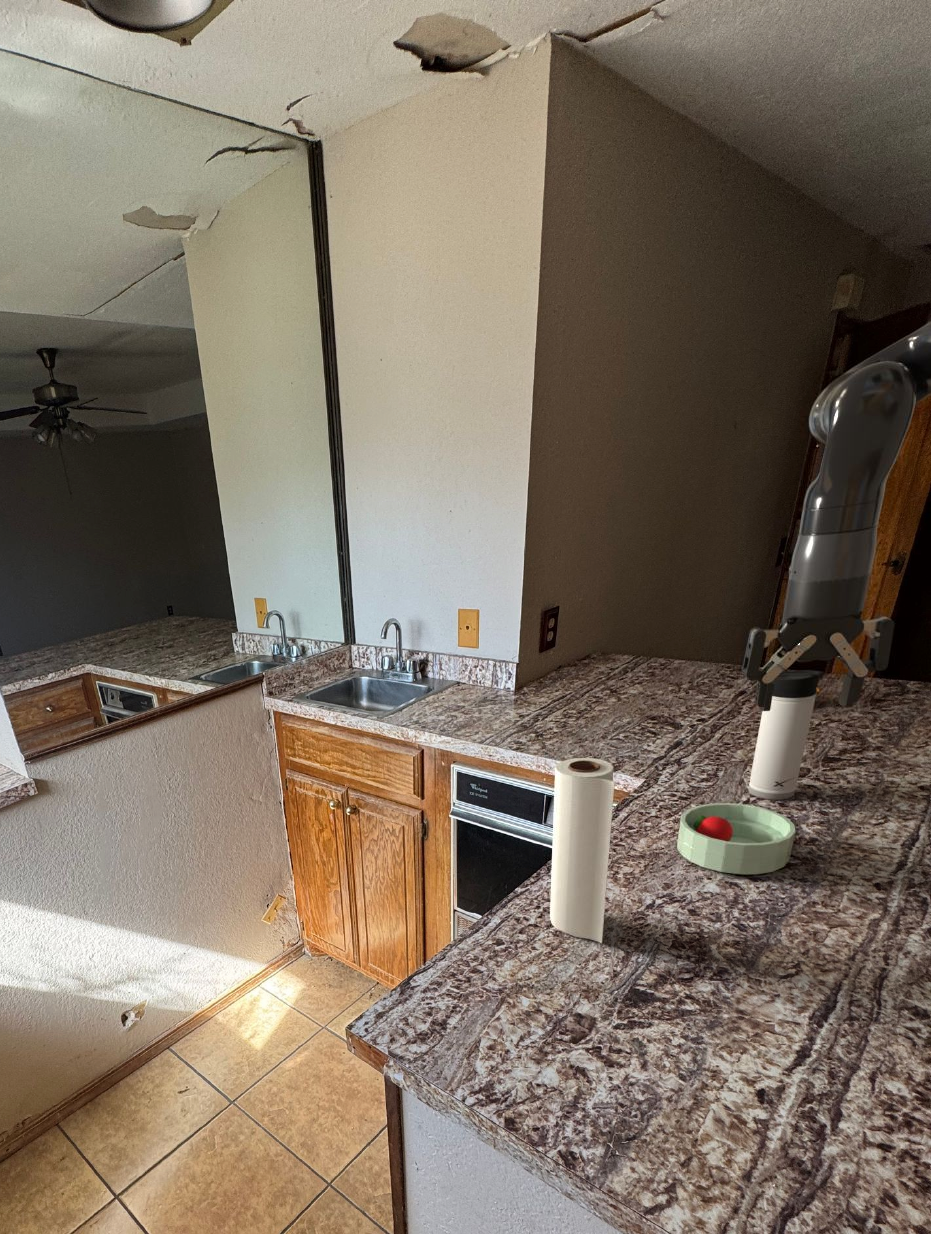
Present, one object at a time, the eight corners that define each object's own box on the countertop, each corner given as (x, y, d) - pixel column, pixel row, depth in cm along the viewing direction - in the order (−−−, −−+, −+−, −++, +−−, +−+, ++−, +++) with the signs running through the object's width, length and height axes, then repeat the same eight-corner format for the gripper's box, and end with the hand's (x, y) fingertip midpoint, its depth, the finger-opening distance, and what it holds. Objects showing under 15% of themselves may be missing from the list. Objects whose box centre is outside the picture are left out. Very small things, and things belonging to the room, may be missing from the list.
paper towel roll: (551, 907, 86) (556, 755, 76) (601, 911, 83) (613, 755, 74) (548, 939, 80) (553, 779, 70) (601, 944, 77) (615, 779, 68)
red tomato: (744, 826, 91) (713, 805, 93) (733, 834, 88) (702, 812, 90) (723, 849, 93) (693, 828, 96) (712, 857, 91) (682, 835, 93)
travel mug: (786, 804, 102) (813, 678, 93) (740, 794, 107) (762, 673, 98) (803, 791, 105) (831, 668, 96) (758, 782, 110) (780, 664, 101)
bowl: (801, 848, 90) (808, 816, 88) (768, 888, 83) (775, 854, 81) (698, 825, 100) (702, 796, 97) (660, 860, 92) (664, 829, 90)
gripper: (765, 584, 74) (745, 720, 82) (922, 567, 69) (887, 713, 76) (748, 576, 81) (732, 703, 88) (892, 559, 76) (861, 695, 83)
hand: (804, 707), depth 82 cm, fingers open, 8 cm apart
